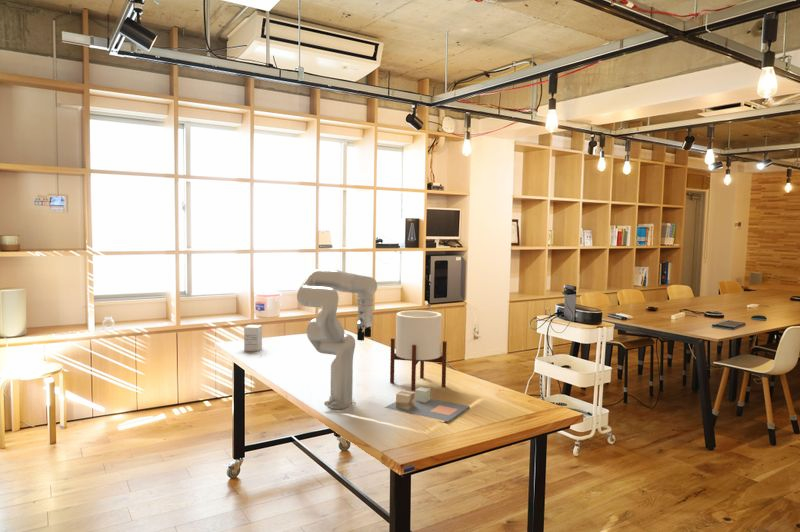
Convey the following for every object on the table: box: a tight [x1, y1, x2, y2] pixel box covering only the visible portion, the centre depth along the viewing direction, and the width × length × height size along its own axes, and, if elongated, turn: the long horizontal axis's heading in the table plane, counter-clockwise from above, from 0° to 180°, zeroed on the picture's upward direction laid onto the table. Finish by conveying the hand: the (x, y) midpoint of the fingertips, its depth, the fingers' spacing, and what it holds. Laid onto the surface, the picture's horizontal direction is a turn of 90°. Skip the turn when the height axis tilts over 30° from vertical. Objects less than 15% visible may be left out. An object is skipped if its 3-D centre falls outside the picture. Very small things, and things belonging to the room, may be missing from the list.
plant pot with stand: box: [389, 309, 448, 392], centre depth 270 cm, size 22×22×36 cm
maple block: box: [395, 389, 415, 410], centre depth 235 cm, size 6×6×6 cm
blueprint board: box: [384, 398, 471, 424], centre depth 235 cm, size 22×30×1 cm
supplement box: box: [243, 324, 263, 352], centre depth 342 cm, size 9×9×15 cm
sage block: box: [414, 386, 431, 403], centre depth 244 cm, size 5×5×5 cm
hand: (364, 338), depth 260 cm, fingers open, 9 cm apart
